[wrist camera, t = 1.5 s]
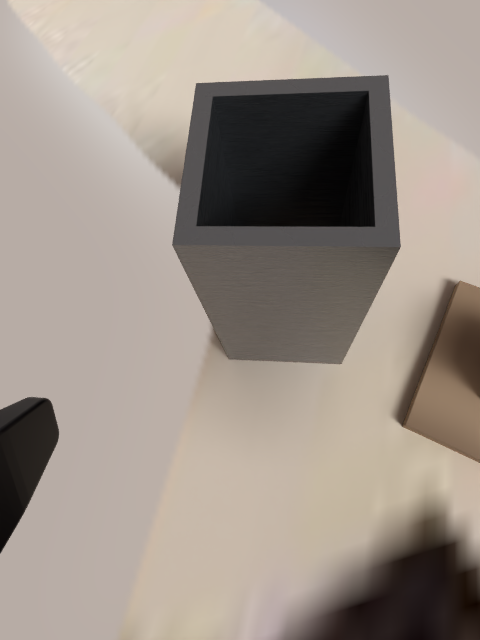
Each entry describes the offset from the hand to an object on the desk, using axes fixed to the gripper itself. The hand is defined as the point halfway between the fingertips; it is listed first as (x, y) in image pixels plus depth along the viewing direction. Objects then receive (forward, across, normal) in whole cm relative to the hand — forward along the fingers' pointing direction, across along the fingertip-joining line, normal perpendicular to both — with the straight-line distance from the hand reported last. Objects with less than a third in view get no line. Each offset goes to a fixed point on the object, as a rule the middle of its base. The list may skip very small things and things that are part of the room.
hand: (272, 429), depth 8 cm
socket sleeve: (+15, 0, +4) cm, 15 cm away
